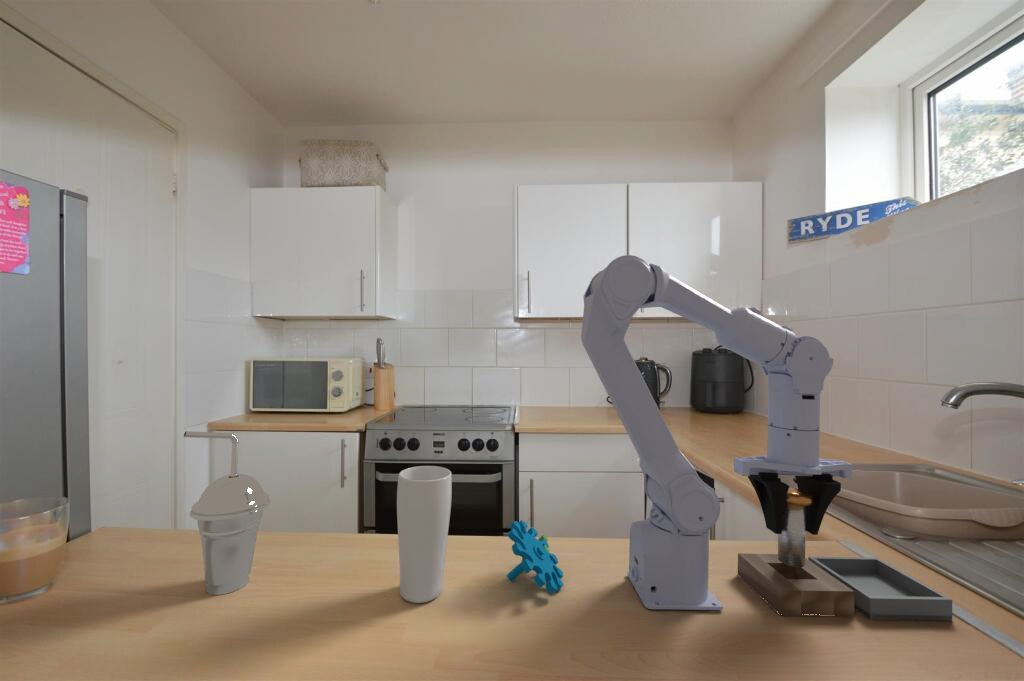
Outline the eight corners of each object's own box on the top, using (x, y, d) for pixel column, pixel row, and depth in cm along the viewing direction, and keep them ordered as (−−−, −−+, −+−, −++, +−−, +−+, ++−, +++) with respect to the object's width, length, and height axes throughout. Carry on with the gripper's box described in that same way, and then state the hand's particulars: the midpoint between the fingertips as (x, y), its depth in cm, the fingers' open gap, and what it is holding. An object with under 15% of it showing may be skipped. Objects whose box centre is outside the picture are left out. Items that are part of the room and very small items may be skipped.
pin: (786, 569, 52) (787, 497, 52) (764, 552, 56) (764, 486, 56) (820, 570, 52) (821, 498, 52) (795, 553, 56) (796, 487, 57)
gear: (558, 599, 49) (506, 526, 52) (522, 630, 49) (473, 556, 53) (574, 567, 59) (529, 508, 62) (544, 593, 60) (501, 533, 63)
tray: (870, 619, 49) (870, 598, 49) (808, 574, 59) (808, 556, 59) (952, 620, 49) (952, 599, 49) (876, 575, 59) (876, 557, 59)
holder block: (780, 615, 49) (780, 590, 49) (737, 574, 58) (737, 553, 58) (854, 616, 50) (854, 591, 50) (800, 575, 59) (800, 554, 59)
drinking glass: (458, 586, 54) (462, 470, 54) (427, 616, 48) (431, 484, 48) (416, 573, 56) (420, 462, 57) (381, 599, 50) (386, 475, 51)
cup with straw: (256, 598, 50) (264, 432, 50) (166, 611, 47) (175, 434, 48) (274, 563, 58) (280, 420, 58) (197, 572, 55) (205, 422, 56)
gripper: (757, 431, 50) (755, 544, 50) (873, 434, 51) (873, 546, 50) (726, 421, 57) (724, 520, 57) (828, 424, 58) (827, 522, 57)
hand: (791, 531), depth 54 cm, fingers closed on pin, 4 cm apart
